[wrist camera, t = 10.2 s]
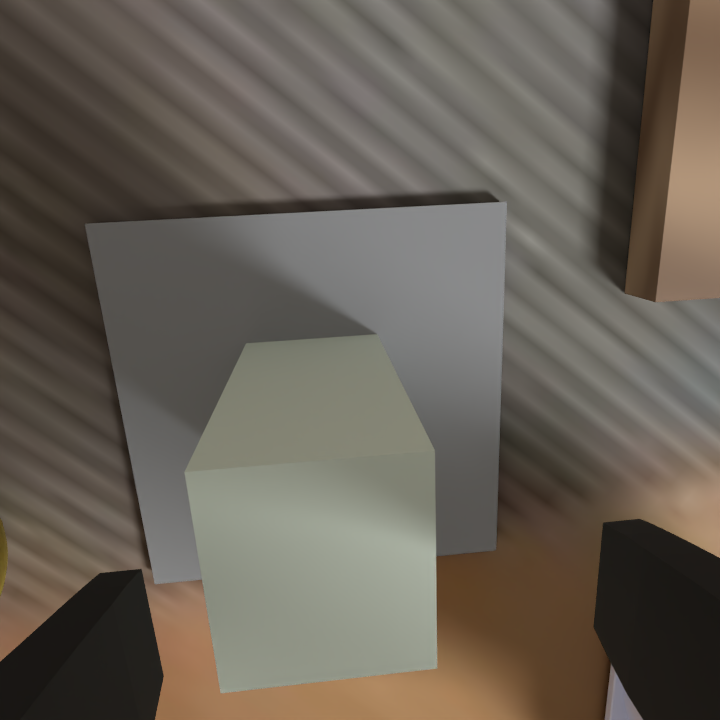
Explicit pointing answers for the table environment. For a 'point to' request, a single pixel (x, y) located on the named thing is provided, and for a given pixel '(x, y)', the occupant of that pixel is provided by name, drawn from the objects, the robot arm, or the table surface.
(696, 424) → the table surface
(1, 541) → the flower pot
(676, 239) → the wooden square frame
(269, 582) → the sage link block
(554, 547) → the table surface
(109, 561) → the table surface
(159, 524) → the charcoal mat
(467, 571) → the table surface
